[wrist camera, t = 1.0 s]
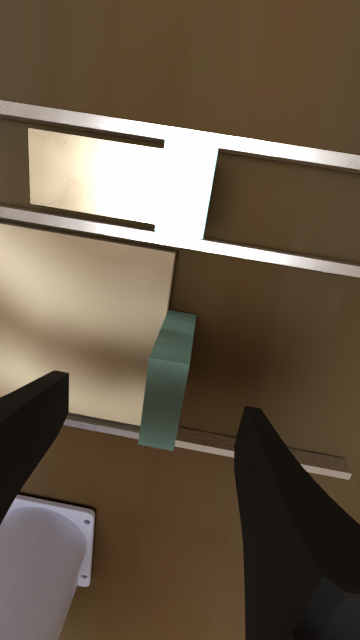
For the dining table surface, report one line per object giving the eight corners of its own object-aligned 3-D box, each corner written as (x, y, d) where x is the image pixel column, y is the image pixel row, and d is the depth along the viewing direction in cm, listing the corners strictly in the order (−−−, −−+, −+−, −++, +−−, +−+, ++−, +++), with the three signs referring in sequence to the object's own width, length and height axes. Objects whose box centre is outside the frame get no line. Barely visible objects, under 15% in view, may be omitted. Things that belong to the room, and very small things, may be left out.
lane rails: (341, 464, 20) (389, 560, 14) (-151, 370, 21) (-274, 427, 16) (474, 179, 13) (647, 163, 8) (-242, 68, 15) (-501, -9, 9)
